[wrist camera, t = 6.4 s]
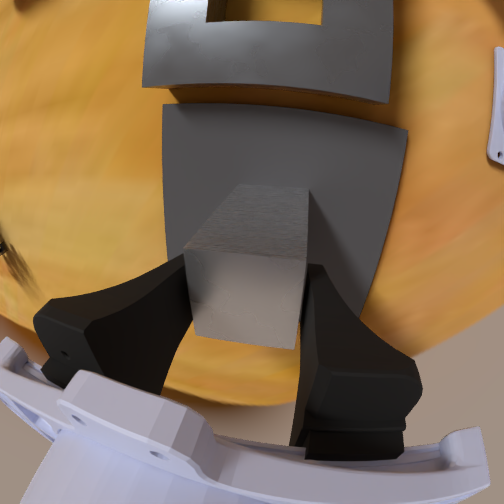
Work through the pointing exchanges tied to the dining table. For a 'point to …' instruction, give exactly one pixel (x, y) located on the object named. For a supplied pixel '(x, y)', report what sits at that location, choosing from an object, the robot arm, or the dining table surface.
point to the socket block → (272, 50)
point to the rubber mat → (287, 178)
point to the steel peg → (250, 267)
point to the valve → (3, 248)
